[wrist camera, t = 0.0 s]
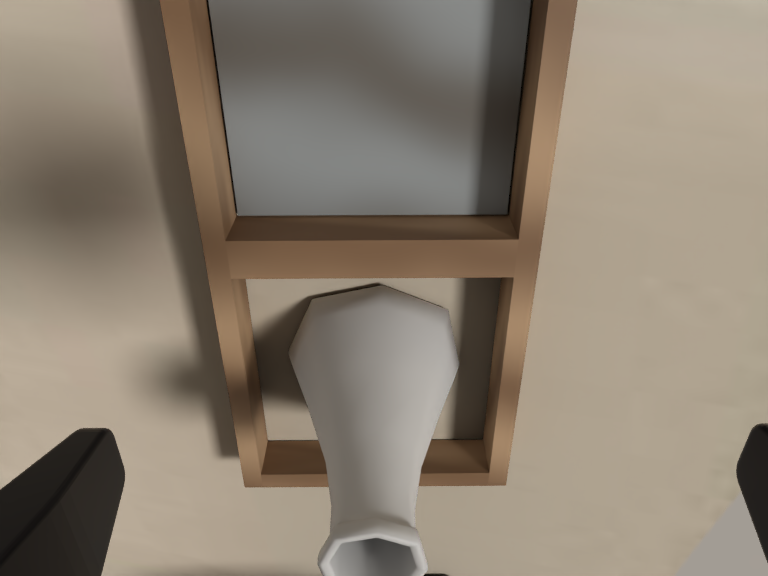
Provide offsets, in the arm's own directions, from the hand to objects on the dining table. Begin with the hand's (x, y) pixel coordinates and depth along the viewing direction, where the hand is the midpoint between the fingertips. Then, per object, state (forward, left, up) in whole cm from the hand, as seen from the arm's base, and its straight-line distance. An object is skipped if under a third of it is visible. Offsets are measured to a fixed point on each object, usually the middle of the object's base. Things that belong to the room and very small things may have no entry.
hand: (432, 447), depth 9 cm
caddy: (-4, +1, -15) cm, 15 cm away
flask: (-10, +1, -15) cm, 18 cm away
